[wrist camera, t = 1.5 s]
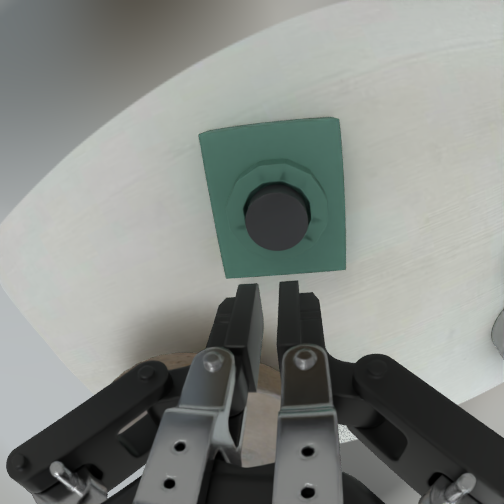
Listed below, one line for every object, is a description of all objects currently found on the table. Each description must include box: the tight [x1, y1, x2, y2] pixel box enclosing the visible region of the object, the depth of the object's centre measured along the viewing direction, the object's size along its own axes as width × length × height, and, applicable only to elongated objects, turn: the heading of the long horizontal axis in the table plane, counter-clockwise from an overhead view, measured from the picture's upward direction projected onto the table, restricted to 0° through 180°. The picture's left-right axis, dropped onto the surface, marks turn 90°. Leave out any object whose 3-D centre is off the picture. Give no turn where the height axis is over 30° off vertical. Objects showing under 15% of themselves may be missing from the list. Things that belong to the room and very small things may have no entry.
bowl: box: [112, 353, 281, 468], centre depth 33 cm, size 26×26×10 cm
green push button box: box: [199, 117, 346, 279], centre depth 23 cm, size 12×10×5 cm
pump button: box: [245, 184, 308, 251], centre depth 21 cm, size 4×4×2 cm
